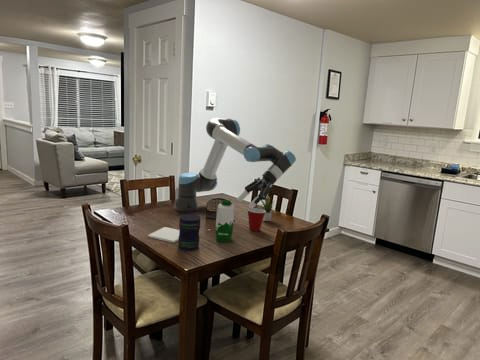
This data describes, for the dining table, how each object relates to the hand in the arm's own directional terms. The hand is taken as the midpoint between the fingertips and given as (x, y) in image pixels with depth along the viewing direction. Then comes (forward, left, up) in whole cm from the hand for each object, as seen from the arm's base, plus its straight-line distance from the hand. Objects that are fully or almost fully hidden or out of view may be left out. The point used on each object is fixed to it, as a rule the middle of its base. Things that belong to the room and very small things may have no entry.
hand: (244, 203), depth 180 cm
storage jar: (+25, -17, -19) cm, 36 cm away
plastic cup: (-17, +2, -19) cm, 26 cm away
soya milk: (+7, -7, -19) cm, 21 cm away
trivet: (+17, -33, -19) cm, 42 cm away
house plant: (-38, +1, -19) cm, 43 cm away
